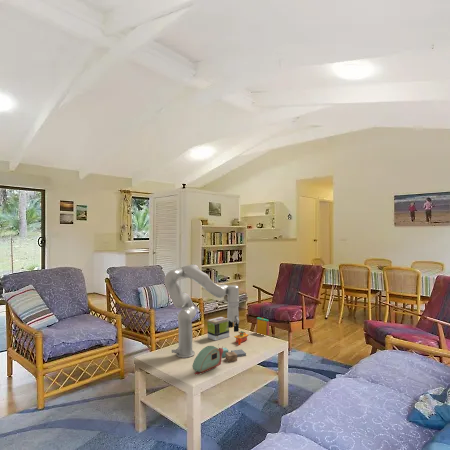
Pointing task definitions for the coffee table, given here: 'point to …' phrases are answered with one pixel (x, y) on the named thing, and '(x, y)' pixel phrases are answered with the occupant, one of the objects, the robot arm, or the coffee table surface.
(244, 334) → the toy building block set
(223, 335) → the tea box
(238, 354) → the base plate
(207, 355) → the toy snail
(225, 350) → the teal block
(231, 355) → the walnut block
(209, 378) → the coffee table surface
